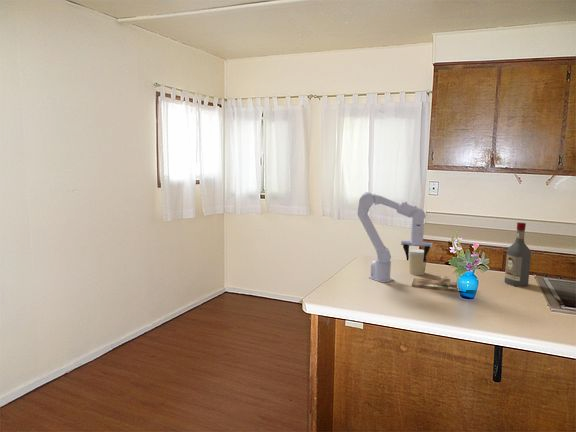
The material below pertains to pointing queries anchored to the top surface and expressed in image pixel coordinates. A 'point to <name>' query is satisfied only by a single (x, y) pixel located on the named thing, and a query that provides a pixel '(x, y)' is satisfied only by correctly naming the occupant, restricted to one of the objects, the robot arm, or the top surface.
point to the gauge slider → (445, 280)
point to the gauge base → (434, 284)
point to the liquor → (518, 260)
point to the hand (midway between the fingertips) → (415, 260)
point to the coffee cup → (417, 262)
